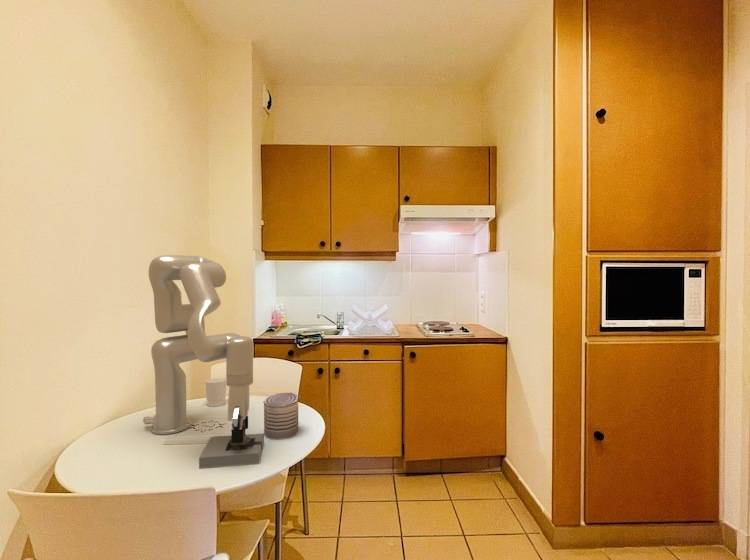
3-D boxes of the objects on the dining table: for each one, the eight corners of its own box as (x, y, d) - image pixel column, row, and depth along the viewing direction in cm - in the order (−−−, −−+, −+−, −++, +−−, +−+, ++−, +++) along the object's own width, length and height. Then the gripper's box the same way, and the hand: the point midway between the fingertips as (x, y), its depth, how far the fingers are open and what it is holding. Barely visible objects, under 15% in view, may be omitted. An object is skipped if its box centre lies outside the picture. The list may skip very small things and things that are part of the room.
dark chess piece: (230, 458, 116) (230, 417, 116) (229, 450, 122) (228, 411, 122) (251, 455, 119) (251, 414, 118) (249, 446, 124) (249, 408, 124)
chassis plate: (199, 468, 112) (199, 457, 112) (211, 446, 125) (210, 436, 125) (258, 463, 114) (258, 453, 114) (264, 442, 128) (263, 433, 128)
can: (305, 432, 137) (305, 397, 136) (277, 443, 128) (277, 405, 127) (284, 423, 144) (284, 390, 144) (257, 433, 135) (256, 398, 135)
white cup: (230, 404, 165) (229, 379, 165) (211, 408, 159) (210, 383, 159) (221, 399, 170) (220, 376, 170) (202, 404, 165) (202, 380, 164)
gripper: (231, 371, 128) (232, 425, 128) (220, 387, 110) (220, 449, 111) (256, 370, 129) (256, 423, 129) (248, 386, 112) (249, 447, 112)
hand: (240, 435), depth 120 cm, fingers open, 9 cm apart
